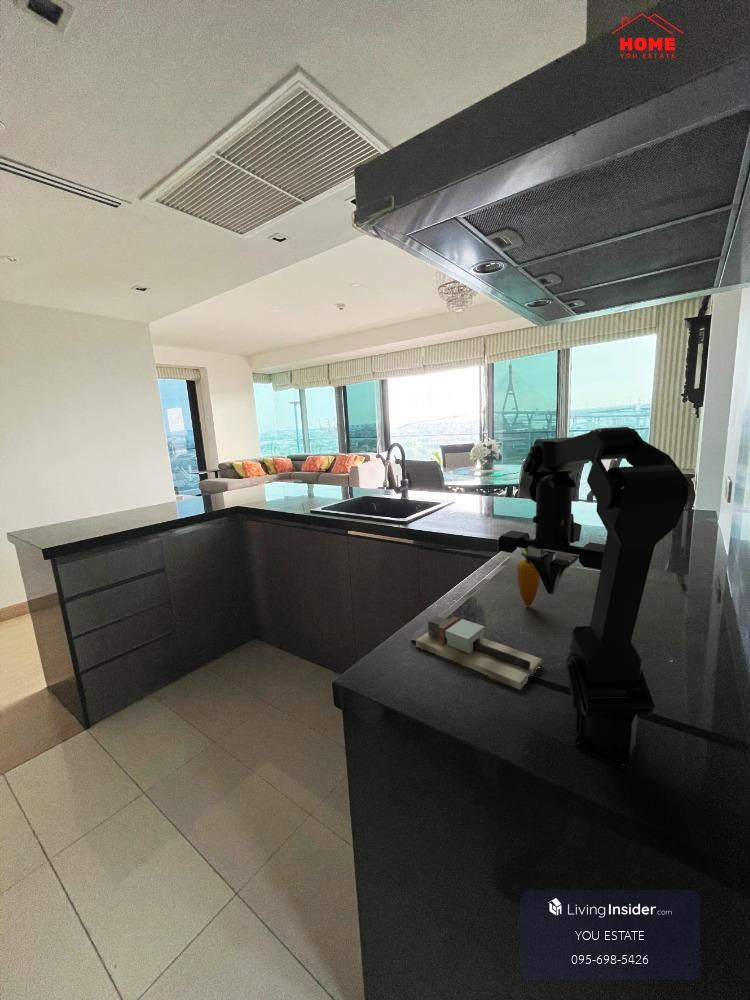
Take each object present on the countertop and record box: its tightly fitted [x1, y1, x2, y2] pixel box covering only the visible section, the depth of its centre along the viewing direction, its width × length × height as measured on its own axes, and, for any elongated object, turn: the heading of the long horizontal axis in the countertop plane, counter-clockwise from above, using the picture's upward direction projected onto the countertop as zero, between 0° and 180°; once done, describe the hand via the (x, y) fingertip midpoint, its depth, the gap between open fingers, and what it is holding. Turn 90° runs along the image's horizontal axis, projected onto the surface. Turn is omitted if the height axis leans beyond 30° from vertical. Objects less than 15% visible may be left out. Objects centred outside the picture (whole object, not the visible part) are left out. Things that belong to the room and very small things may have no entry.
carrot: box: [516, 548, 540, 607], centre depth 97 cm, size 5×5×15 cm
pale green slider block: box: [445, 618, 485, 653], centre depth 81 cm, size 5×6×3 cm
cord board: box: [415, 615, 543, 690], centre depth 79 cm, size 22×9×5 cm, turn 46°
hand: (551, 593), depth 75 cm, fingers closed
